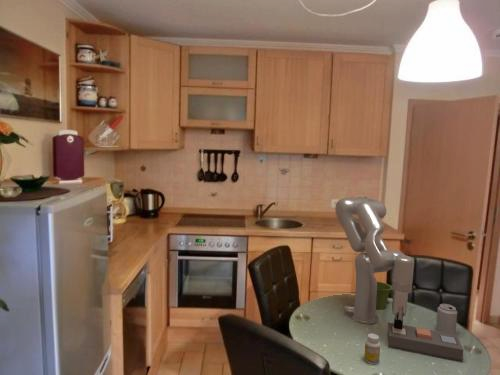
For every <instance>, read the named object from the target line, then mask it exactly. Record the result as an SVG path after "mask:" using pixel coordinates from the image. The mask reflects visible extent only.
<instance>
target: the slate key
mask: <svg viewBox="0 0 500 375" xmlns="http://www.w3.org/2000/svg"><path fill="white" fill-rule="evenodd" d="M440 338H441V341H442V342H446V343H451V344H456V345H457V343H456V340H455V338H453V337H448V336H442V335H440Z"/></svg>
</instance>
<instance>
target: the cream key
mask: <svg viewBox="0 0 500 375" xmlns="http://www.w3.org/2000/svg"><path fill="white" fill-rule="evenodd" d="M392 333H397V334H403V335H406V330H405V329H403V328H402V330H400V329H395V328H394V327H392Z"/></svg>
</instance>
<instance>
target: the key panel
mask: <svg viewBox="0 0 500 375" xmlns="http://www.w3.org/2000/svg"><path fill="white" fill-rule="evenodd" d="M392 327H394V322H388V323H387V348H389V349H395V350H399V351H404V352H408V353H414V354H419V355H424V356H429V357H432V358H433V357H435V358H438V359H444V360H449V361H453V362H458V363H463V359H464V358H463V357H464V348H463V346H462V343H461V341H460V339H459V337H458V335H457V334H456V333H455V334H451V333H445V332H440V331H437V330H433V329H428V328H426V329H427V330H430V333H431V340H429V339H424V338H419V337H416V328H418V327H416V326H411V325H406V324H405V325H404V324H403V327H402V328H403V329H405V330H406V335H403V334H397V333H392ZM421 328H422V327H421ZM422 329H424V328H422ZM440 335H442V336H448V337H453V338H455V340H456V343H457V345H456V344H451V343H446V342H442V341H441V338H440Z"/></svg>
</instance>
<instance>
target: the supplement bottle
mask: <svg viewBox="0 0 500 375" xmlns="http://www.w3.org/2000/svg"><path fill="white" fill-rule="evenodd" d="M380 355H381V342H380V337H379V335H378V334H375V333H368V334H367V339H366V340H365V342H364V360H365V362H366V363H367V364H371V365H377V364H378V365H379V363H380V359H381V357H380Z"/></svg>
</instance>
